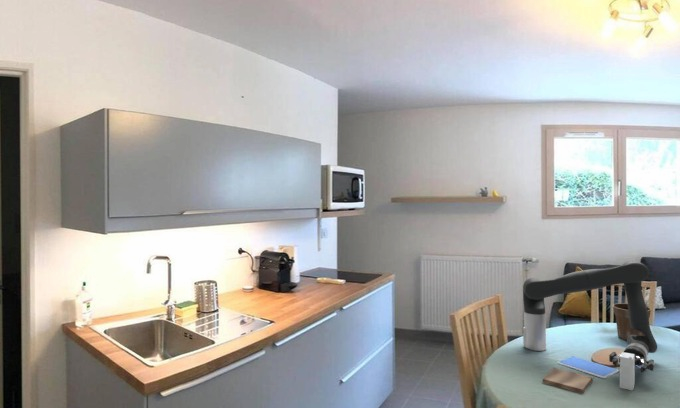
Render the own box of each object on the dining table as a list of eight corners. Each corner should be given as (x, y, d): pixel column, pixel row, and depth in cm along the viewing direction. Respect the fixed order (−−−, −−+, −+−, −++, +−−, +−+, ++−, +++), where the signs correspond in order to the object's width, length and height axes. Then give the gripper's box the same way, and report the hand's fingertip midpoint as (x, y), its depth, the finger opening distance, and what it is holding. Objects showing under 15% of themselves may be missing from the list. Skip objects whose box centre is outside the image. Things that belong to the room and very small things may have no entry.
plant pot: (613, 331, 217) (612, 301, 217) (651, 336, 208) (650, 305, 208) (612, 340, 204) (611, 308, 204) (652, 346, 195) (652, 312, 195)
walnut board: (542, 382, 160) (542, 378, 160) (553, 371, 170) (553, 367, 170) (583, 393, 150) (582, 389, 150) (592, 380, 160) (592, 377, 160)
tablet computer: (556, 364, 178) (556, 361, 178) (572, 358, 185) (572, 355, 185) (604, 380, 162) (603, 377, 162) (619, 372, 168) (619, 369, 168)
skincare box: (621, 382, 158) (620, 351, 158) (635, 385, 156) (634, 353, 156) (619, 388, 154) (618, 356, 154) (634, 391, 151) (633, 358, 151)
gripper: (614, 341, 173) (606, 352, 161) (657, 349, 163) (651, 361, 151) (615, 359, 173) (606, 371, 161) (657, 368, 163) (651, 381, 151)
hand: (628, 366), depth 156 cm, fingers open, 8 cm apart
